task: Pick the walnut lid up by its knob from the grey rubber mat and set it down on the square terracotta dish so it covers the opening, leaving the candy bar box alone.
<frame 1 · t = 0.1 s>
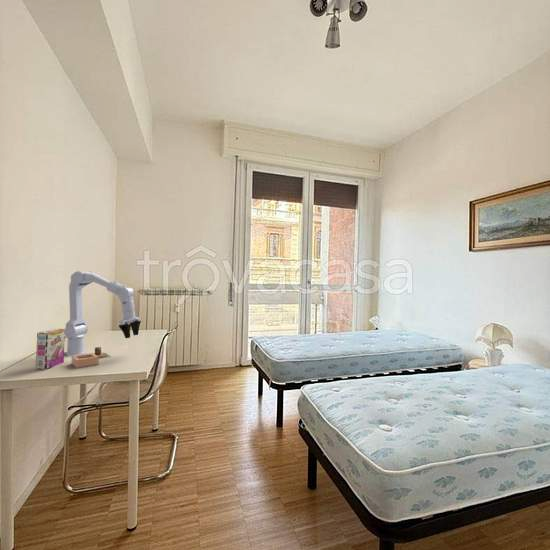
hand: (132, 336, 156), 11 cm above the table, tool pointing down, fingers open, 7 cm apart
candy bar box: (50, 366, 138), on the table
mat: (97, 357, 154), on the table
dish: (84, 365, 140), on the table
lid: (97, 356, 154), resting on mat
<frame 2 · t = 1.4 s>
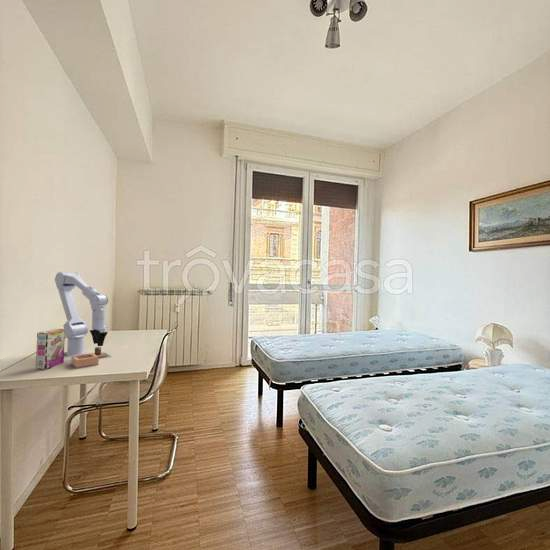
hand: (98, 344, 154), 6 cm above the table, tool pointing down, fingers open, 7 cm apart
nothing on the table moved.
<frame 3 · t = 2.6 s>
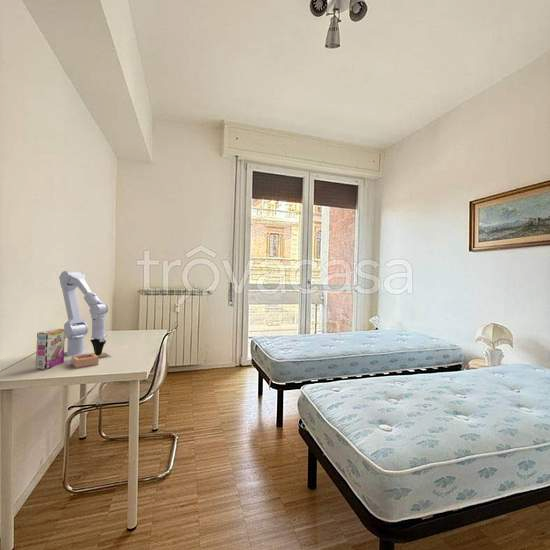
hand: (97, 353, 154), 2 cm above the table, tool pointing down, fingers closed on lid, 3 cm apart
lid: (97, 356, 154), resting on mat, touching gripper
everything else where it was.
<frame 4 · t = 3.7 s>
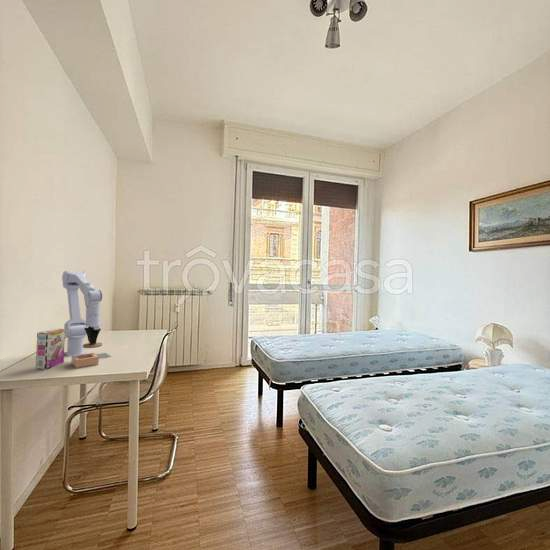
hand: (92, 342, 147), 9 cm above the table, tool pointing down, fingers closed on lid, 3 cm apart
lid: (92, 346, 147), point 7 cm above the table, touching gripper
everything else where it was.
when the fingers open (7 cm above the table, at t = 4.7 s): lid stays where it is, resting on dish.
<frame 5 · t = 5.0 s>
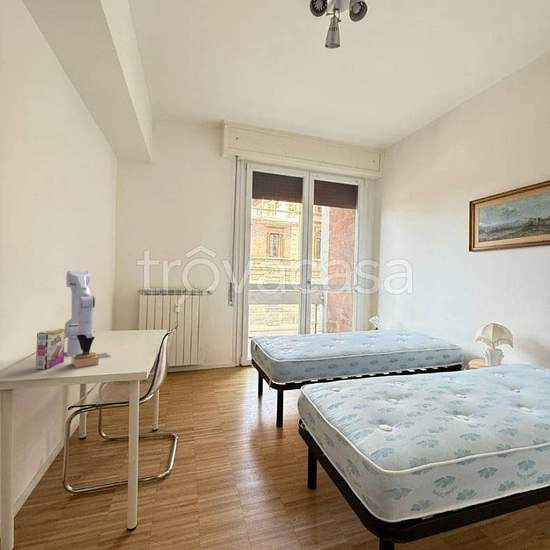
hand: (85, 350, 140), 7 cm above the table, tool pointing down, fingers open, 5 cm apart
lid: (85, 356, 141), point 4 cm above the table, touching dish
everything else where it was.
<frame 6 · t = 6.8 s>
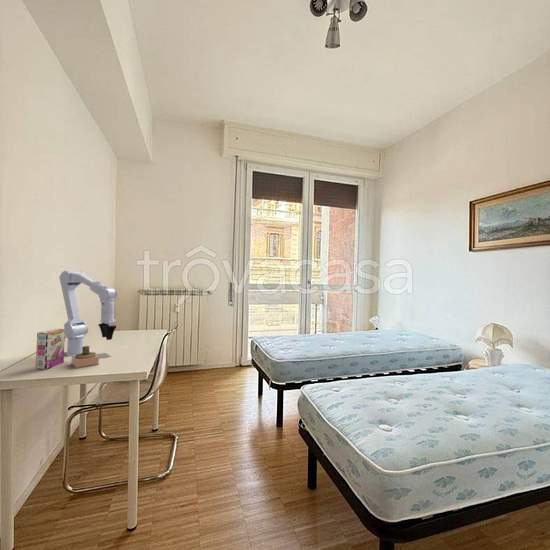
hand: (106, 338, 153), 10 cm above the table, tool pointing down, fingers open, 7 cm apart
nothing on the table moved.
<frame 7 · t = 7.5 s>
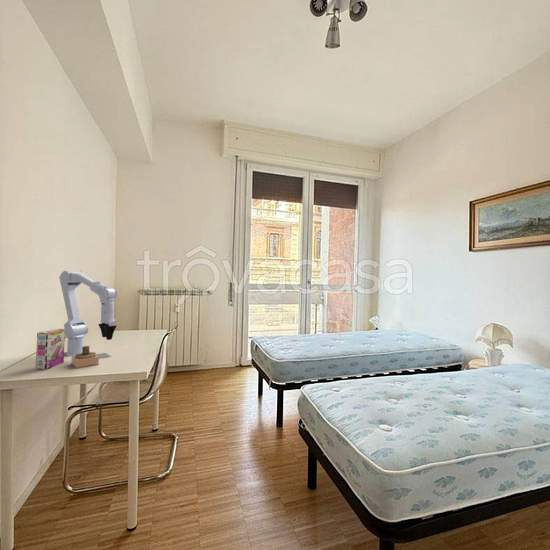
hand: (107, 338, 153), 10 cm above the table, tool pointing down, fingers open, 7 cm apart
nothing on the table moved.
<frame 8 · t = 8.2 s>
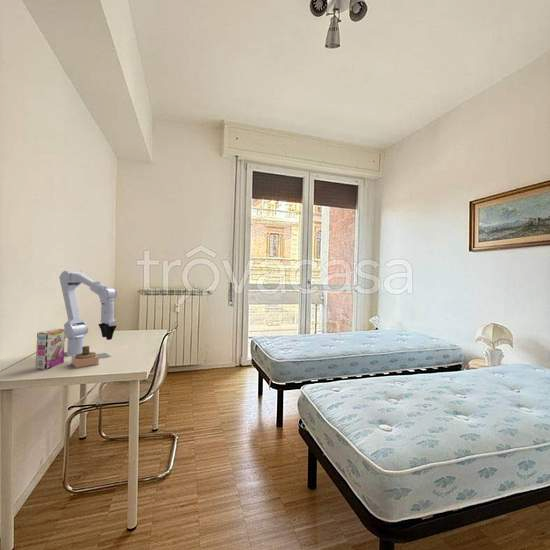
hand: (107, 338, 153), 10 cm above the table, tool pointing down, fingers open, 7 cm apart
nothing on the table moved.
at the end: lid 0.2 cm off-centre on the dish, point 4.0 cm above the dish's base; lid tilted 0°; the gripper is holding nothing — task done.
